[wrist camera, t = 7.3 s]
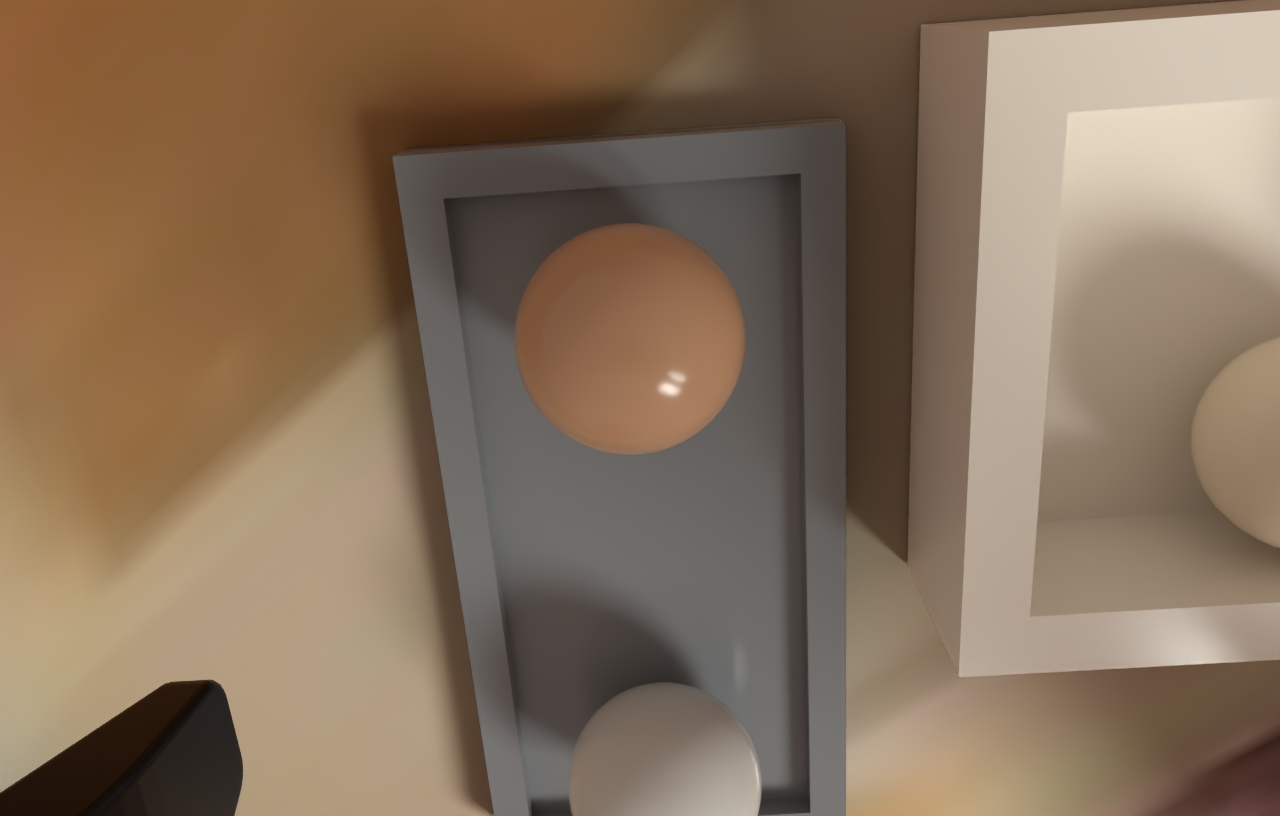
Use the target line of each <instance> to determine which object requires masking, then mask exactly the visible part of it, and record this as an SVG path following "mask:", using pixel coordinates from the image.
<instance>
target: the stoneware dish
mask: <svg viewBox="0 0 1280 816" xmlns="http://www.w3.org/2000/svg"><path fill="white" fill-rule="evenodd" d="M1279 336H1280V0H1243V1H1229V2H1216V3H1203V4H1189V5H1176V6H1163V7H1149V8H1136V9H1123V10H1109V11H1096V12H1083V13H1069V14H1056V15H1043V16H1029V17H1016V18H1003V19H989V20H976V21H963V22H949V23H936V24H923V25H921V36H920V76H919V117H918V157H917V198H916V238H915V279H914V319H913V359H912V400H911V440H910V481H909V521H908V562H907V566H908V568H909V570H910V572H911V575H912V577H913V579H914V581H915V583H916V585H917V588H918V590H919V592H920V594H921V596H922V599H923V601H924V603H925V605H926V607H927V609H928V612H929V614H930V616H931V618H932V620H933V623H934V625H935V627H936V629H937V631H938V634H939V636H940V638H941V640H942V642H943V644H944V647H945V649H946V651H947V653H948V655H949V658H950V660H951V662H952V664H953V666H954V668H955V671H956V673H957V675H958V677H978V676H996V675H1014V674H1032V673H1050V672H1068V671H1086V670H1104V669H1122V668H1140V667H1158V666H1176V665H1194V664H1212V663H1230V662H1248V661H1266V660H1280V548H1277V547H1274V546H1271V545H1268V544H1266V543H1264V542H1262V541H1259V540H1257V539H1255V538H1254V537H1252V536H1250V535H1249V534H1247V533H1245V532H1244V531H1242V530H1240V529H1239V528H1238V527H1236V526H1235V525H1234V524H1233V523H1231V522H1230V521H1229V520H1228V519H1227V518H1226V517H1225V516H1224V515H1223V514H1222V513H1221V512H1220V511H1219V510H1218V509H1217V508H1216V507H1215V506H1214V505H1213V503H1212V502H1211V500H1210V499H1209V498H1208V496H1207V495H1206V493H1205V491H1204V490H1203V488H1202V486H1201V484H1200V482H1199V480H1198V477H1197V475H1196V472H1195V468H1194V465H1193V461H1192V456H1191V441H1190V436H1191V426H1192V421H1193V417H1194V414H1195V410H1196V408H1197V405H1198V403H1199V400H1200V398H1201V396H1202V394H1203V393H1204V391H1205V389H1206V388H1207V386H1208V385H1209V383H1210V382H1211V381H1212V380H1213V378H1214V377H1215V376H1216V375H1217V374H1218V373H1219V372H1220V371H1221V369H1222V368H1223V367H1225V366H1226V365H1227V364H1228V363H1229V362H1231V361H1232V360H1233V359H1234V358H1236V357H1237V356H1238V355H1240V354H1241V353H1243V352H1245V351H1246V350H1248V349H1250V348H1252V347H1254V346H1256V345H1258V344H1260V343H1262V342H1265V341H1267V340H1270V339H1273V338H1276V337H1279Z"/></svg>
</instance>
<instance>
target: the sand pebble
mask: <svg viewBox="0 0 1280 816" xmlns="http://www.w3.org/2000/svg"><path fill="white" fill-rule="evenodd" d="M1190 441H1191V456H1192V461H1193V465H1194V468H1195V472H1196V475H1197V477H1198V480H1199V482H1200V484H1201V486H1202V488H1203V490H1204V491H1205V493H1206V495H1207V496H1208V498H1209V499H1210V500H1211V502H1212V503H1213V505H1214V506H1215V507H1216V508H1217V509H1218V510H1219V511H1220V512H1221V513H1222V514H1223V515H1224V516H1225V517H1226V518H1227V519H1228V520H1229V521H1230V522H1231V523H1233V524H1234V525H1235V526H1236V527H1238V528H1239V529H1240V530H1242V531H1244V532H1245V533H1247V534H1249V535H1250V536H1252V537H1254V538H1255V539H1257V540H1259V541H1262V542H1264V543H1266V544H1268V545H1271V546H1274V547H1277V548H1280V336H1279V337H1276V338H1273V339H1270V340H1267V341H1265V342H1262V343H1260V344H1258V345H1256V346H1254V347H1252V348H1250V349H1248V350H1246V351H1245V352H1243V353H1241V354H1240V355H1238V356H1237V357H1236V358H1234V359H1233V360H1232V361H1231V362H1229V363H1228V364H1227V365H1226V366H1225V367H1223V368H1222V369H1221V371H1220V372H1219V373H1218V374H1217V375H1216V376H1215V377H1214V378H1213V380H1212V381H1211V382H1210V383H1209V385H1208V386H1207V388H1206V389H1205V391H1204V393H1203V394H1202V396H1201V398H1200V400H1199V403H1198V405H1197V408H1196V410H1195V414H1194V417H1193V421H1192V426H1191V436H1190Z"/></svg>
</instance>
